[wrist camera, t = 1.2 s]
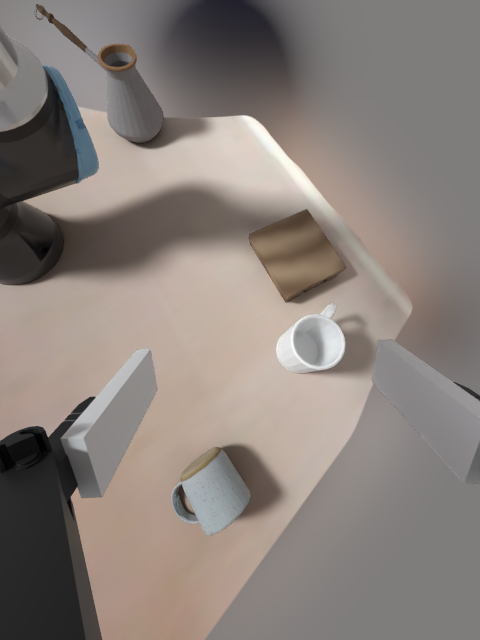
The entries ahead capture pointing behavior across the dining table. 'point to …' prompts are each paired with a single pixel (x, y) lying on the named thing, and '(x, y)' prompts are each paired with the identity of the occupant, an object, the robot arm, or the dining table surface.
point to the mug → (312, 343)
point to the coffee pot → (122, 89)
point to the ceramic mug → (211, 492)
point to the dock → (296, 254)
